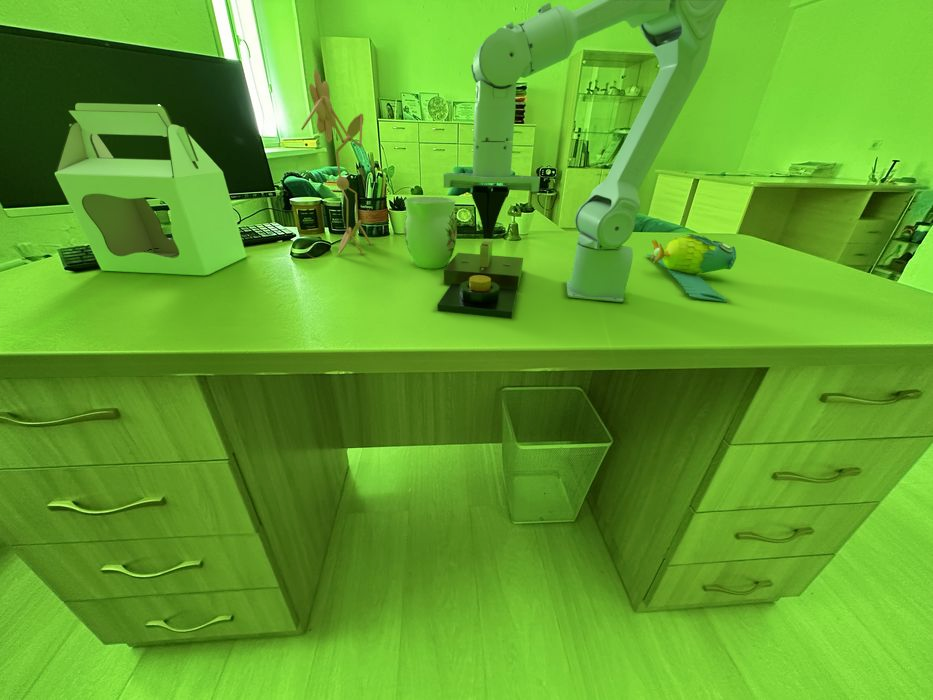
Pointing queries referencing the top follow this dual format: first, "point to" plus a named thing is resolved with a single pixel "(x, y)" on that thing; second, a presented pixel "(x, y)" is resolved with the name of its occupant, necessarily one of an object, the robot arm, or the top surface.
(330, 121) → the figurine
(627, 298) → the top surface
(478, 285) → the button
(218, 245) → the gable box
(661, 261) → the toy bird
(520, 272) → the panel
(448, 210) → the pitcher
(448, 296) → the button box
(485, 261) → the tan block
